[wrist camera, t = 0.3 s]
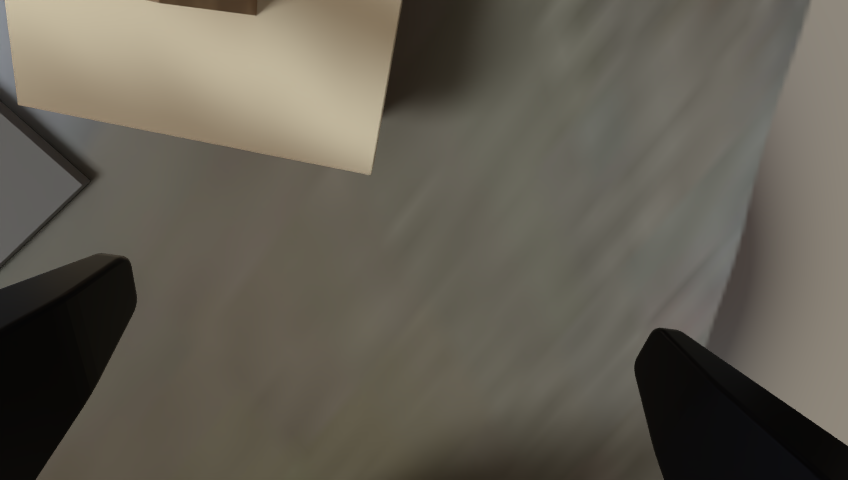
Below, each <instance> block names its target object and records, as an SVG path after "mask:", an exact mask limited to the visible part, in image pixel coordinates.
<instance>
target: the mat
mask: <svg viewBox="0 0 848 480" xmlns="http://www.w3.org/2000/svg"><path fill="white" fill-rule="evenodd" d="M89 182H90V180H89V179H88V178H87V177H86V176H84V175H83V174H82V173H81V172H80V171H79V170H78V169H77V168H75V167H74V166H73V165H72V164H71V163H70V162H69V161H68V160H66V159H65V158H64V157H63V156H62V155H61V154H60V153H59V152H57V151H56V150H55V149H54V148H53V147H52V146H51V145H50V144H48V143H47V142H46V141H45V140H44V139H43V138H42V137H41V136H39V135H38V134H37V133H36V132H35V131H34V130H33V129H31V128H30V127H29V126H28V125H27V124H26V123H25V122H24V121H22V120H21V119H20V118H19V117H18V116H17V115H16V114H15V113H13V112H12V111H11V110H10V109H9V108H8V107H7V106H6V105H4V104H3V103H2V102H1V101H0V267H1V266H2V265H3V264H4V263H5V262H6V261H7V260H9V259H10V258H11V257H12V256H13V255H14V254H15V253H16V252H17V251H18V250H19V249H20V248H21V247H22V246H23V245H24V244H25V243H26V242H27V241H28V240H30V239H31V238H32V237H33V236H34V235H35V234H36V233H37V232H38V231H39V230H40V229H41V228H42V227H43V226H44V225H45V224H46V223H47V222H48V221H49V220H51V219H52V218H53V217H54V216H55V215H56V214H57V213H58V212H59V211H60V210H61V209H62V208H63V207H64V206H65V205H66V204H67V203H68V202H69V201H70V200H72V199H73V198H74V197H75V196H76V195H77V194H78V193H79V192H80V191H81V190H82V189H83V188H84V187H85V186H86V185H87V184H88V183H89Z"/></svg>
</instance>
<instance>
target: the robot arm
mask: <svg viewBox="0 0 848 480" xmlns="http://www.w3.org/2000/svg"><path fill="white" fill-rule="evenodd" d="M136 303H137V294H136V289H135V283H134V278H133V272H132V266H131V263H130V261H129V259H128V258H126V257H124V256H119V255H112V254H104V253H99V254H95V255H92V256H89V257H87V258H84V259H81V260H78V261H76V262H73V263H70V264H68V265H65V266H62V267H59V268H57V269H54V270H51V271H48V272H46V273H43V274H40V275H38V276H35V277H32V278H29V279H27V280H24V281H21V282H18V283H16V284H13V285H10V286H8V287H5V288H2V289H0V480H36V478H37V477H38V475H39V474H40V472H41V471H42V469H43V467H44V466H45V464H46V463H47V461H48V460H49V458H50V457H51V455H52V454H53V452H54V451H55V449H56V448H57V446H58V445H59V443H60V442H61V440H62V439H63V437H64V436H65V434H66V433H67V431H68V430H69V428H70V427H71V425H72V423H73V422H74V420H75V419H76V417H77V416H78V414H79V413H80V411H81V410H82V408H83V407H84V405H85V403H86V402H87V400H88V399H89V397H90V395H91V394H92V392H93V390H94V388H95V387H96V385H97V383H98V381H99V379H100V377H101V375H102V374H103V372H104V370H105V368H106V366H107V364H108V362H109V360H110V358H111V356H112V354H113V352H114V350H115V348H116V346H117V344H118V342H119V340H120V338H121V336H122V334H123V332H124V330H125V329H126V327H127V325H128V323H129V321H130V319H131V317H132V315H133V313H134V311H135V308H136ZM634 371H635V377H636V381H637V385H638V389H639V393H640V397H641V401H642V405H643V409H644V413H645V417H646V421H647V425H648V429H649V433H650V437H651V440H652V444H653V448H654V451H655V454H656V457H657V460H658V463H659V466H660V469H661V472H662V475H663V478H664V480H848V446H847V445H845V444H844V443H843V442H841V441H840V440H838V439H837V438H835V437H834V436H832V435H831V434H830V433H828V432H827V431H825V430H824V429H822V428H821V427H819V426H818V425H816V424H815V423H814V422H812V421H811V420H809V419H808V418H806V417H805V416H803V415H802V414H801V413H799V412H797V411H796V410H795V409H793V408H792V407H790V406H789V405H787V404H786V403H785V402H783V401H782V400H780V399H778V398H777V397H776V396H774V395H773V394H771V393H770V392H769V391H767V390H766V389H764V388H763V387H761V386H760V385H758V384H757V383H755V382H754V381H752V380H751V379H750V378H748V377H747V376H745V375H744V374H742V373H741V372H739V371H738V370H737V369H735V368H734V367H732V366H731V365H729V364H728V363H726V362H725V361H723V360H722V359H720V358H719V357H718V356H716V355H715V354H713V353H712V352H710V351H709V350H708V349H706V348H705V347H703V346H702V345H700V344H699V343H697V342H696V341H695V340H693V339H692V338H690V337H689V336H687V335H686V334H684V333H683V332H681V331H679V330H674V329H666V328H656V329H654V330H653V331H652V332H651V334H650V335H649V337H648V339H647V341H646V342H645V344H644V346H643V348H642V349H641V351H640V353H639V355H638V356H637V358H636V361H635V366H634Z"/></svg>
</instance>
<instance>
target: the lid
mask: <svg viewBox="0 0 848 480" xmlns="http://www.w3.org/2000/svg"><path fill="white" fill-rule="evenodd" d="M402 2H403V0H5V6H6V14H7V21H8V29H9V37H10V45H11V53H12V61H13V69H14V77H15V84H16V92H17V100H18V105H21V106H26V107H31V108H36V109H41V110H46V111H52V112H57V113H62V114H67V115H72V116H77V117H82V118H87V119H92V120H97V121H102V122H107V123H112V124H117V125H122V126H127V127H132V128H137V129H142V130H147V131H152V132H157V133H162V134H167V135H172V136H177V137H182V138H187V139H192V140H197V141H202V142H207V143H212V144H217V145H222V146H227V147H232V148H237V149H242V150H247V151H252V152H257V153H262V154H267V155H272V156H277V157H282V158H287V159H292V160H297V161H302V162H307V163H312V164H317V165H322V166H327V167H332V168H337V169H342V170H347V171H352V172H357V173H363V174H368V175H371V172H372V168H373V164H374V160H375V155H376V149H377V143H378V138H379V132H380V126H381V121H382V115H383V109H384V104H385V98H386V92H387V87H388V81H389V76H390V70H391V64H392V59H393V53H394V47H395V42H396V36H397V30H398V25H399V19H400V13H401V8H402Z"/></svg>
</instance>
